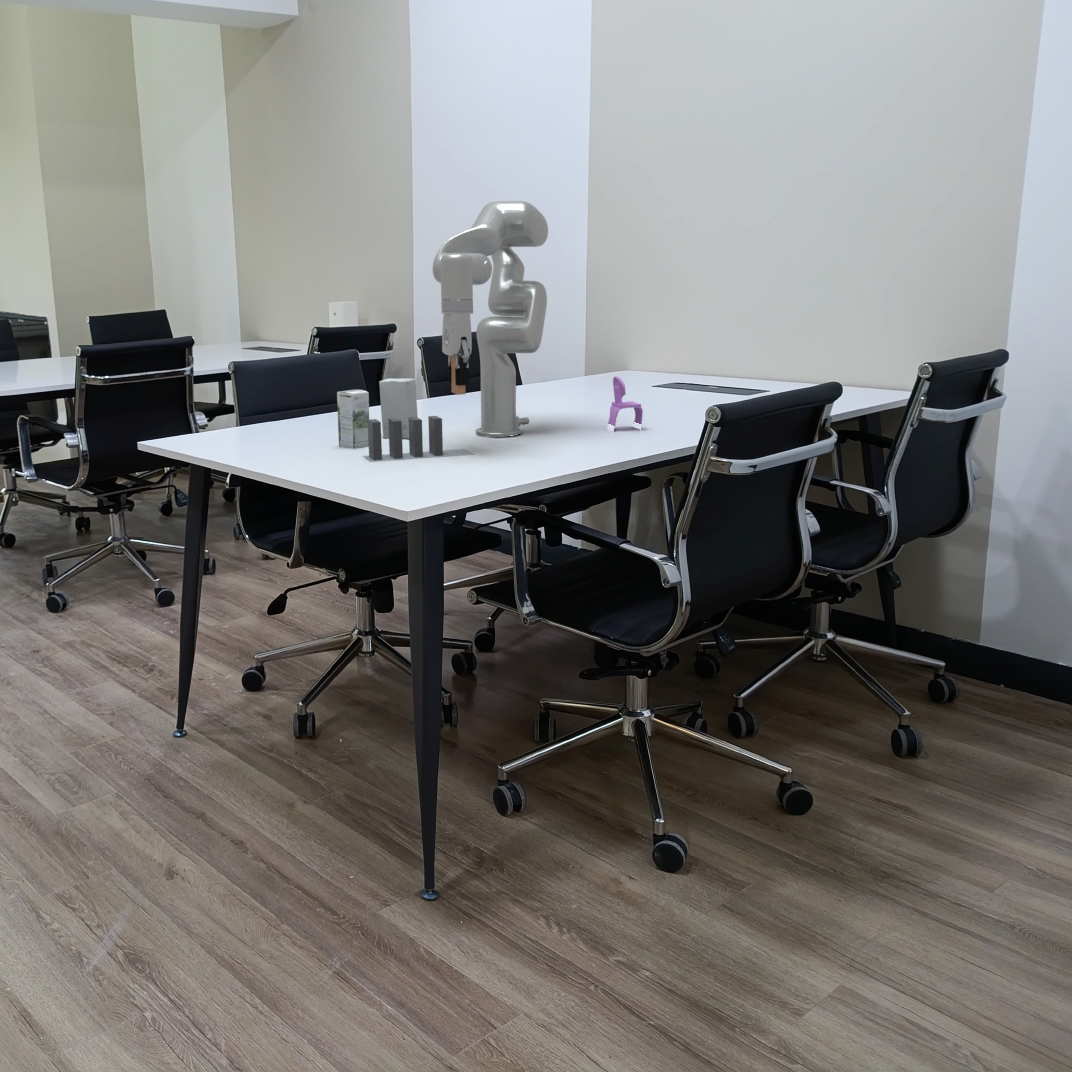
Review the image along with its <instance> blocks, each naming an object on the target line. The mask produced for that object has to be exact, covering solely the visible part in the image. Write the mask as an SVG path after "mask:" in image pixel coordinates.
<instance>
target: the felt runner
mask: <svg viewBox="0 0 1072 1072" xmlns="http://www.w3.org/2000/svg"><path fill="white" fill-rule="evenodd" d="M474 455H475V453H473V452H471V451H470V450H468V449H465V448H461V449H447V450H446V449H445V450H444V449H443V456H434V455H432V454H431V453H429V451H423V457H414V456H412V455H410V452H403V458H400V459H394V458H393V457H391V456H390V453H388V454H387V453H386V454H385V453H384V454H382V460H373V459H372V458H370V457H369V455H362V457H363V458H365V460H367V461H368V462H370V463H372V462H373V463H375V462H387V461H388V462H390V461H403V460H404V461H405V460H417V459H418V460H419V459H432V458H446V457H461V456H474Z"/></svg>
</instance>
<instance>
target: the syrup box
mask: <svg viewBox="0 0 1072 1072" xmlns="http://www.w3.org/2000/svg"><path fill="white" fill-rule="evenodd" d="M369 393H370V392H368V391H367V390H363V389H349V390H348V389H347V390H342V391H341V390H340V391H339V390H338V391H337V392H336V402H337V429H338V430H337V431H338V447H340V448H347V449H351V450H356V449H361V448H365V447H369V441H368V420H369V419H370V403H369V402H370V398H369V396H370V395H369Z"/></svg>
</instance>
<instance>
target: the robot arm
mask: <svg viewBox="0 0 1072 1072" xmlns="http://www.w3.org/2000/svg"><path fill="white" fill-rule="evenodd" d="M548 226H549V225H548V221H547V219H546V217H545V216H544V215H543V214H542V212H541V211H539V210H538V208H536V206H534V205H533V204H531V203H530V202H527V201H524V200H523V201H522V200H509V201H508V200H505V201H504V200H502V201H501V200H499V201H498V200H497V201H491V202H488V203H486V204H485V205H484V207H482V209H481V211H480V213H479V214H478V216H477V217H476V220H475V221H474V223H473V224H472V226H471V227H470V228H468V229H466V230H463V231H462V232H460V233H458V234H456V235H454V236H452V237H450V238H449V239H447V240H446V241H445V242H443V243H442V244H441V246H440V248H439V249H438V250H437V252H436V255H435V257H434V260H433V263H432V275H433V277H434V279H435V280H436V282H437V283H438V284H440V297H441V298H440V299H441V303H440V304H441V305H440V306H441V307H440V308H441V314H442V315H443V318H442V332H441V333H442V336H441V339H442V341H441V345H442V346H441V351H442V353H443V354H445V355H446V356H447V360H448V361H447V365H448V371H447V372H448V382H449V384H451V383H452V381H451V356H455V357H456V367H457V369H455V384H456V385H457V386H458V385H465V386H468V385H469V384H470V383H469V381H470V379H469V377H470V376H469V365H470V364H469V361H470V360H469V359H470V355H471V354H472V349H473V348H472V347H473V344H472V343H473V342H472V341H473V340H472V336H473V335H472V322H471V315H473V314H474V300H473V299H474V297H473V296H474V295H473V292H474V289H473V286H481V285H484V284H485V283H487V282H488V281H489V280H490V279H491V280H490V288H489V292H488V302H487V306H488V309H489V312H491V313H492V314H493V315H495V316H488V317H485V318H482V319H481V320H480V321H479V322H478V324H477V327H476V340H477V346H478V352H479V360H480V362H479V363H480V365H479V366H480V419H481V421H480V422H481V423H480V424H481V426H480V427H478V428H477V429H475V434H476V435H477V436H481V437H486V436H489V438H495V437H494V436H510V435H516V434H520V435H522V433H523V432H522V431H523V430H522V429H521V428H520V426H521V425H522V426H524V425H528V424H530V419H529V418H528V417H525V416H524V417H521V418H520V417H519V415H518V416H517V394H516V393H517V387H516V386H517V380H516V379H517V376H516V375H517V374H516V373H517V370H516V367H515V365H514V362H513V361H512V360H511V358H510V356H509V355H508V354H533V353H536V352H537V351H538V350H539V349H540V347H541V343H542V338H543V333H544V327H545V326H544V325H545V320H546V314H547V307H548V306H547V304H548V295H547V294H548V293H547V289H546V287H545V285H544V284H542V282H539V281H536V280H524V276H525V275H524V274H525V266H524V263H523V261H522V260H521V258H520V257H519V256H518V254H517V253H516V252H515V251H514V250H513V249H512V248H524V247H525V248H530V247H531V248H532V247H533V248H536V247H537V248H538V247H541V246H543V245H544V244H545V243H546V241H547V239H548V236H549V227H548ZM488 256H491V259H492V263H491V261H490V258H489V257H488ZM492 265H493V266H492ZM459 358H461V359H460V362H459ZM490 436H491V437H490Z"/></svg>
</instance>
